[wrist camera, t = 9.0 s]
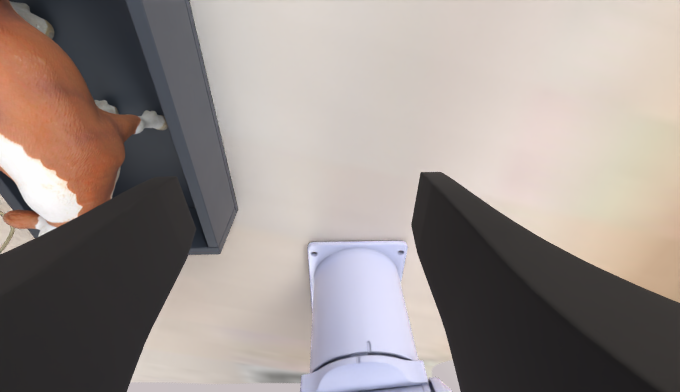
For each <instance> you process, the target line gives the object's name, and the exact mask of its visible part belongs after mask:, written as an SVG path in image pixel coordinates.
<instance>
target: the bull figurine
mask: <svg viewBox="0 0 680 392" xmlns="http://www.w3.org/2000/svg"><path fill="white" fill-rule="evenodd" d="M53 37H54V29H53V27H52V25H51V24H50V23H49V22H48V21H47V20H45V19H43V18H40V17H38V16H36V15H34V14H32V13H31V12H30V7H29V6H28V5H27V4H25V3H16V2H11V1H9V0H0V171H2V172H3V173H4V174H6V175H7V176H8V177H10V178H11V179H12V180H13V181H14V182H15V183H16V185H17V187H18V189H19V191H20V193H21V195H22V197H23V199H24V201H25V202H26V203H27V205H28V206H29V207H30V208H31V209H32V210H34V211H29V210H13V211H9V212H8V213H6V214H4V216H3V220H4V222H6V223H7V224H8V225H10V226H12V227H14V228H18V229H27V228H32V229H39V230H40V232H39V235H38V237H39V236H41V235H43V234H45V233H47V232H49V231H51V230H53V229H55V228H57V227H59V226H61V225H63V224H65V223H67V222H69V221H71V220H73V219H75V218H77V217H79V216H80V215H82V214H84V213H86V212H88V211H90V210H92V209H93V208H95V207H97V206H99V205H101V204H103V203H105V202H106V201H108V200H110V199H112V195H113V191H114V188H115V184H116V182H117V180H118V178H119V174H120V169H121V165H122V163H123V162H124V159H125V146H124V142H125V141H126V140H127V139H128V138H129V137H130V136H131V135H132V134H138V133H140V132H142V131H143V129H144V128H154V129H157V130H166V129H167V128H168V125H167V123H166V120H165V117H164V116H162V115H157V113H156V112H155V111H148V110H147V111H145V112H144V113H143V114H142V116H136V115H131V114H126V115H120V114H119V112H118V110H117V108H116V107H114V106H111V105H109V104H108V103H107V101H105V100H102V101H97V100H94V99H93V97H92V95H91V93H90V91H89V89H88V87H87V84H86V82H85V80H84V78H83V77H82V75H81V73H80V71H79V70H78V68H77V67H76V65H75V64H74V62H73V61H72V59H71V58H70V57H69V56H68V55H67V54H66V52H65V51H64V50H63V49H62V48H61V47H60V46H59V45H58V44H57V43H55V42H54V41H53V40H52V39H53Z"/></svg>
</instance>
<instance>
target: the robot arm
mask: <svg viewBox="0 0 680 392" xmlns="http://www.w3.org/2000/svg"><path fill="white" fill-rule="evenodd" d="M411 225H412V230H413V235H414V240H415V244H416V249H417V253H418V256H419V259H420V262H421V264H422V267H423V270H424V273H425V276H426V278H427V281H428V284H429V286H430V289H431V292H432V295H433V297H434V300H435V303H436V305H437V308H438V311H439V314H440V316H441V319H442V322H443V325H444V328H445V331H446V335H447V338H448V342H449V346H450V350H451V354H452V358H453V362H454V366H455V370H456V374H457V378H458V382H459V386H460V391H461V392H680V303H678V302H676V301H673V300H671V299H668V298H666V297H663V296H661V295H659V294H656V293H654V292H651V291H649V290H647V289H644V288H642V287H640V286H637V285H635V284H633V283H631V282H629V281H626V280H624V279H622V278H620V277H618V276H615V275H613V274H611V273H609V272H607V271H604V270H602V269H600V268H598V267H596V266H594V265H592V264H590V263H588V262H586V261H584V260H581V259H580V258H578V257H576V256H574V255H572V254H570V253H568V252H566V251H564V250H562V249H561V248H559V247H557V246H555V245H553V244H551V243H549V242H547V241H546V240H544V239H542V238H540V237H539V236H537V235H535V234H533V233H532V232H530V231H529V230H527V229H525V228H524V227H522V226H520V225H519V224H517V223H516V222H514V221H512V220H511V219H509V218H508V217H506V216H505V215H503V214H502V213H500V212H499V211H497V210H496V209H494V208H493V207H491V206H490V205H488V204H487V203H485V202H484V201H482V200H481V199H480V198H478V197H477V196H475V195H474V194H473V193H471V192H470V191H468V190H467V189H466V188H464V187H463V186H461V185H460V184H458V183H457V182H456V181H454V180H453V179H451V178H450V177H448V176H447V175H445V174H443V173H442V172H421V174H420V179H419V185H418V191H417V196H416V202H415V207H414V213H413V219H412V224H411ZM195 232H196V227H195V224H194V222H193V219H192V216H191V213H190V211H189V208H188V205H187V203H186V200H185V197H184V194H183V192H182V189H181V186H180V183H179V181H178V178H177V176H170V177H154V178H152V179H149V180H147V181H145V182H143V183H140V184H138V185H136V186H134V187H133V188H131V189H129V190H127V191H125V192H123V193H121V194H119V195H117V196H116V197H114V198H112V199H110V200H108V201H106V202H105V203H103V204H101V205H99V206H97V207H95V208H93V209H92V210H90V211H88V212H86V213H84V214H82V215H80V216H79V217H77V218H75V219H73V220H71V221H69V222H67V223H65V224H63V225H61V226H59V227H57V228H55V229H53V230H51V231H49V232H47V233H45V234H43V235H41V236H39V237H37V238H35V239H33V240H31V241H29V242H27V243H25V244H23V245H21V246H19V247H16V248H14V249H12V250H10V251H8V252H5V253H3V254H1V255H0V392H127V389H128V386H129V384H130V381H131V378H132V375H133V373H134V370H135V368H136V365H137V362H138V360H139V357H140V355H141V352H142V349H143V347H144V344H145V342H146V340H147V338H148V335H149V333H150V331H151V329H152V327H153V325H154V323H155V321H156V319H157V317H158V315H159V313H160V311H161V309H162V307H163V305H164V303H165V301H166V299H167V297H168V295H169V293H170V291H171V289H172V287H173V285H174V283H175V281H176V279H177V277H178V275H179V273H180V271H181V269H182V267H183V265H184V263H185V261H186V259H187V256H188V253H189V251H190V248H191V245H192V242H193V238H194V235H195ZM407 249H408V246H407V243H406V242H405V241H352V242H311V243H309V244H308V262H309V276H310V290H311V303H312V313H313V315H312V335H311V356H310V373H309V374H303V375H302V376H301V388H300V392H452V390H451V389H450V388H449V387H448V386H446V385H445V384H444V383H442V381H441V380H440V379H439V378H437V377H433V378H429V380H428V378H427V374H426V370H425V366H424V362H423V361H422V360H419V359H418V355H417V351H416V346H415V342H414V338H413V334H412V330H411V325H410V321H409V317H408V313H407V308H406V304H405V300H404V296H403V292H402V287H401V279H402V274H403V269H404V264H405V259H406V254H407ZM399 251H400V252H399ZM313 252H316V253H313Z"/></svg>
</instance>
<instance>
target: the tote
mask: <svg viewBox="0 0 680 392" xmlns="http://www.w3.org/2000/svg"><path fill="white" fill-rule="evenodd" d="M9 1H11V2H16V3H25V4H27V5H28V6H29V7H30V12H31V13H32V14H34V15H36V16H38V17H40V18H43V19H45V20H47V21H48V22H49V23H50V24H51V25H52V27H53V29H54V37H53V39H52V40H53V41H54V42H55V43H57V44H58V45H59V46H60V47H61V48H62V49H63V50H64V51H65V52H66V54H67V55H68V56H69V57H70V58H71V59H72V61H73V62H74V64H75V65H76V67H77V68H78V70H79V71H80V73H81V75H82V77H83V78H84V80H85V82H86V84H87V87H88V89H89V91H90V93H91V95H92V97H93V99H94V100H97V101H102V100H105V101H107V103H108V104H109V105H111V106H114V107H116V108H117V110H118V112H119V114H120V115H126V114H131V115H136V116H142V114H143V113H144V112H145V111H147V110H148V111H155V112H156V113H157V115H162V116H164V117H165V120H166V123H167V125H168V128H167V129H166V130H157V129H154V128H144V129H143V131H142V132H140V133H138V134H132V135H131V136H130V137H129V138H128V139H127V140H126V141H125V142H124V146H125V159H124V162H123V163H122V165H121V169H120V174H119V178H118V180H117V182H116V184H115V188H114V191H113V195H112V198H114V197H116V196H117V195H119V194H121V193H123V192H125V191H127V190H129V189H131V188H133V187H134V186H136V185H138V184H140V183H143V182H145V181H147V180H149V179H152V178H154V177H170V176H177V178H178V181H179V183H180V186H181V189H182V192H183V194H184V197H185V200H186V203H187V205H188V208H189V211H190V213H191V216H192V219H193V222H194V224H195V227H196V232H195V235H194V238H193V242H192V245H191V248H190V251H189V253H188V255H201V254H220V253H221V251H222V248H223V246H224V243H225V241H226V238H227V236H228V233H229V231H230V228H231V226H232V223H233V221H234V218H235V216H236V213H237V211H238V207H237V203H236V198H235V194H234V190H233V186H232V181H231V177H230V173H229V169H228V164H227V160H226V156H225V152H224V147H223V143H222V139H221V135H220V130H219V126H218V122H217V117H216V113H215V109H214V105H213V100H212V96H211V92H210V88H209V83H208V79H207V75H206V71H205V66H204V62H203V58H202V53H201V49H200V45H199V41H198V36H197V32H196V28H195V24H194V19H193V15H192V11H191V7H190V2H189V0H9ZM0 194H1V195H2V197H3V198H4V199H5V201H6V202H7V203H8V204H9V206H10V207H11V208H12V210H29V211H34V210H32V209H31V208H30V207H29V206H28V205H27V203H26V202H25V201H24V199H23V197H22V195H21V193H20V191H19V189H18V187H17V185H16V183H15V182H14V181H13V180H12V179H11V178H10V177H8V176H7V175H6V174H4V173H3V172H2V171H0ZM27 229H28V230H29V231H30V233H31V234H32V235H33V236H34V238H37V237H38V235H39V232H40V230H39V229H32V228H27Z"/></svg>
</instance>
